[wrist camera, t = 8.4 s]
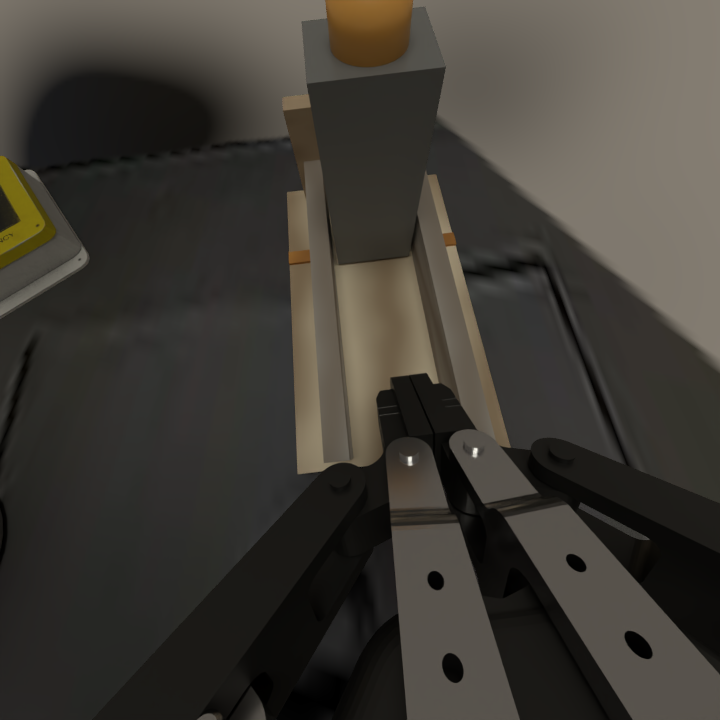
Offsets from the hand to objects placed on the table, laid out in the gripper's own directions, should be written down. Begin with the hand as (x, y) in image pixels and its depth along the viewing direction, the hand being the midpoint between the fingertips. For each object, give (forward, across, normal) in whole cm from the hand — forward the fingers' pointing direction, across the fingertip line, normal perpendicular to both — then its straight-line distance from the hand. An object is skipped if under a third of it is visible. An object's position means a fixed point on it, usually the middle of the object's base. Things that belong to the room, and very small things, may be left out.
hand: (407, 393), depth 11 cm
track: (+10, 0, 0) cm, 10 cm away
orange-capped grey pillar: (+12, 0, -6) cm, 13 cm away
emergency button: (+19, +31, -8) cm, 37 cm away
